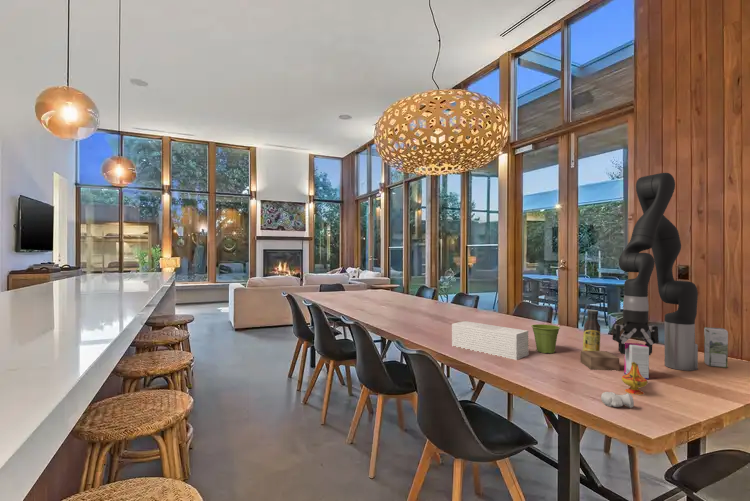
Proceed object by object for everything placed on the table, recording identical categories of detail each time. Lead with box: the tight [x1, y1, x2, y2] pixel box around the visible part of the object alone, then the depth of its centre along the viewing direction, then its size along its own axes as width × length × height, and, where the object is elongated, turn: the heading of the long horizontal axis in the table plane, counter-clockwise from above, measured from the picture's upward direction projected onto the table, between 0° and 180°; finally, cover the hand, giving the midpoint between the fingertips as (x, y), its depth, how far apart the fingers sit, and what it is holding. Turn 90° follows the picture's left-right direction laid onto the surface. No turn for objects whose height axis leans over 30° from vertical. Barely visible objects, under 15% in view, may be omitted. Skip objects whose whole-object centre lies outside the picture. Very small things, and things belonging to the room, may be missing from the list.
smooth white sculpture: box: [600, 391, 635, 409], centre depth 112 cm, size 4×8×5 cm
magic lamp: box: [621, 362, 648, 396], centre depth 125 cm, size 7×18×11 cm, turn 145°
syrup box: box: [703, 326, 729, 369], centre depth 152 cm, size 6×6×14 cm
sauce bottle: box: [582, 309, 601, 351], centre depth 164 cm, size 6×6×20 cm
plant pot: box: [530, 323, 561, 354], centre depth 173 cm, size 12×12×11 cm
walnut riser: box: [579, 350, 620, 372], centre depth 151 cm, size 10×10×5 cm
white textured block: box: [451, 320, 529, 361], centre depth 175 cm, size 32×11×11 cm, turn 43°
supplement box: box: [623, 342, 650, 381], centre depth 139 cm, size 6×6×12 cm
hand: (635, 354), depth 139 cm, fingers open, 8 cm apart
